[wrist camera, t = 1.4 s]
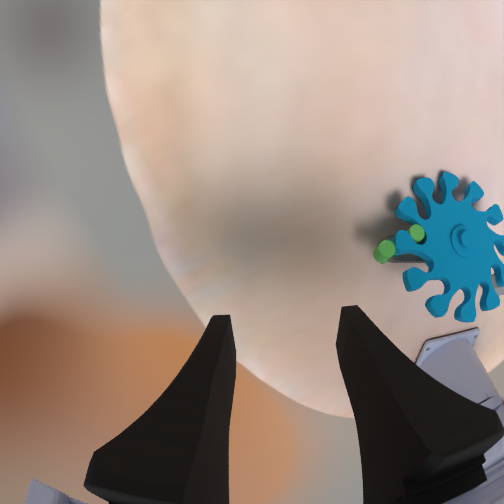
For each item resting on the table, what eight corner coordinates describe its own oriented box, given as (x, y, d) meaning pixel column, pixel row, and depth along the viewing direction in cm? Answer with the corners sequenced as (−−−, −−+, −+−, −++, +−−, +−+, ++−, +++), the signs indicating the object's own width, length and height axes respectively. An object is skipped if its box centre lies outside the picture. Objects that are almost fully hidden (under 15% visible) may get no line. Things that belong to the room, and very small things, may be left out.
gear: (502, 176, 15) (524, 314, 12) (468, 207, 21) (481, 321, 18) (372, 159, 17) (383, 327, 14) (356, 199, 22) (360, 329, 20)
